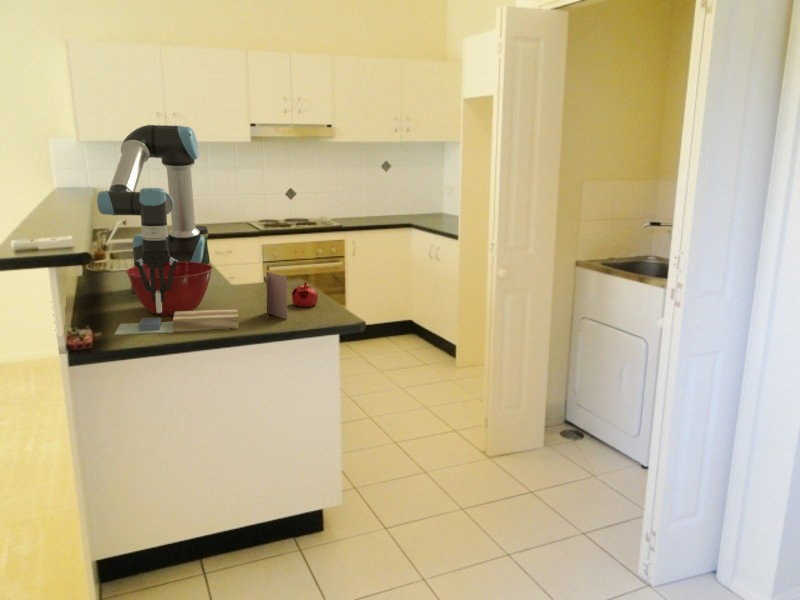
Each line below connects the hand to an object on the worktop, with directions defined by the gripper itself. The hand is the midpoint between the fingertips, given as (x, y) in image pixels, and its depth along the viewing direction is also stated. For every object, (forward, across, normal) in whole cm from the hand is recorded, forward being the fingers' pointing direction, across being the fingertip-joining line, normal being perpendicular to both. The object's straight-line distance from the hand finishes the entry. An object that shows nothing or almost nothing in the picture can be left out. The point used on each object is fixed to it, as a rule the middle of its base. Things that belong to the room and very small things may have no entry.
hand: (159, 311), depth 201 cm
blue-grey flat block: (+3, -3, 0) cm, 4 cm away
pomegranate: (+6, +50, +23) cm, 55 cm away
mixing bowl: (+6, +2, +21) cm, 22 cm away
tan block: (+5, +14, 0) cm, 15 cm away
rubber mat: (+5, -4, 0) cm, 7 cm away
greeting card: (+6, +37, +8) cm, 39 cm away
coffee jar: (+6, +9, +110) cm, 110 cm away
